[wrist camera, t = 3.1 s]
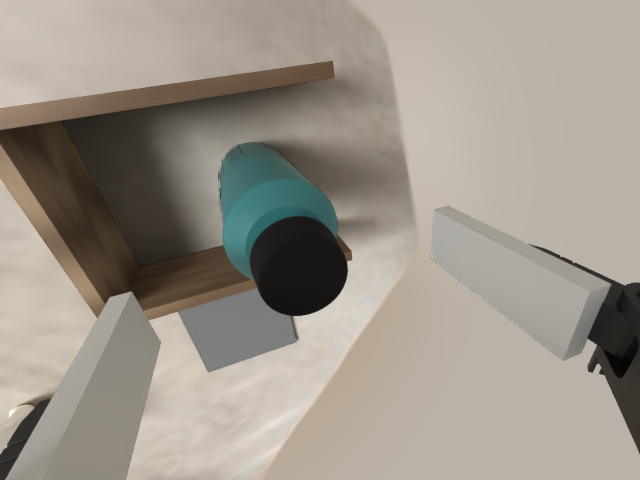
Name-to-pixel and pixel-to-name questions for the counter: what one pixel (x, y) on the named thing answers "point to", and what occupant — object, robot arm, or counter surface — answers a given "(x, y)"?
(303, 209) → the beverage bottle
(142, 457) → the counter surface
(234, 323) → the mat
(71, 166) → the wooden u-frame
